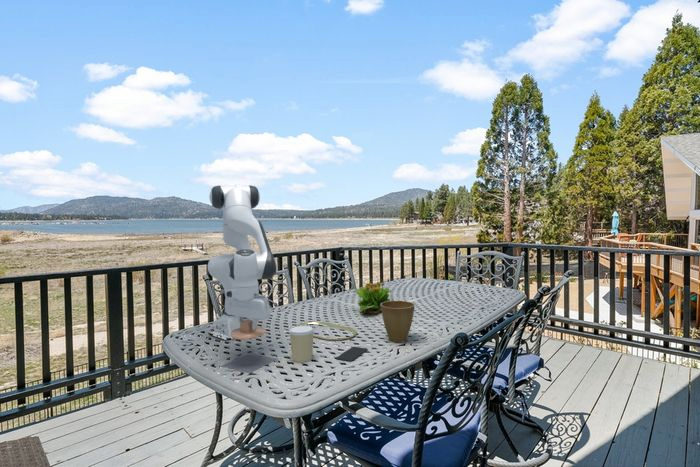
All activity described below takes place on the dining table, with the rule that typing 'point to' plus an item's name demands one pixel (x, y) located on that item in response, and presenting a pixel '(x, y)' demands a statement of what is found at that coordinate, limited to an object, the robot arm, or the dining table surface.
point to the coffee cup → (301, 343)
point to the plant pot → (397, 319)
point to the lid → (247, 331)
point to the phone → (351, 354)
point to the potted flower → (372, 297)
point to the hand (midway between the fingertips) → (248, 328)
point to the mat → (249, 362)
